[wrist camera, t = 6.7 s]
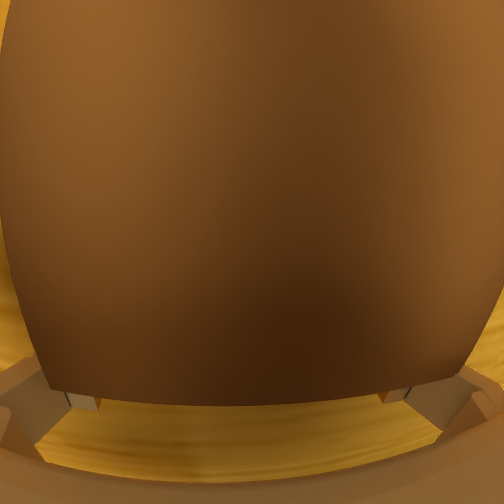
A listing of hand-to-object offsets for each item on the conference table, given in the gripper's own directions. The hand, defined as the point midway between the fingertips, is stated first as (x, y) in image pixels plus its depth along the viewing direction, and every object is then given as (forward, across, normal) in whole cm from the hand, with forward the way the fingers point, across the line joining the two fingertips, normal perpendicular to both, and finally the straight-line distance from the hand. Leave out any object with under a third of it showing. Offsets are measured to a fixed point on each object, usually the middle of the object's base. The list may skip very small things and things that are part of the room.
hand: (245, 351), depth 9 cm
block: (+2, 0, -6) cm, 6 cm away
